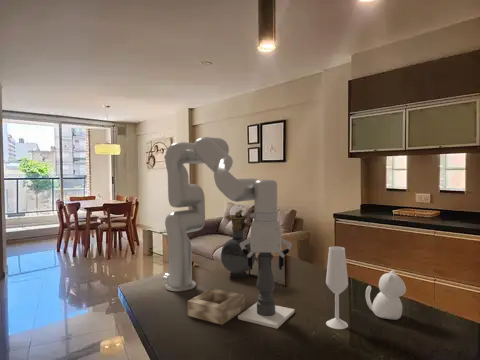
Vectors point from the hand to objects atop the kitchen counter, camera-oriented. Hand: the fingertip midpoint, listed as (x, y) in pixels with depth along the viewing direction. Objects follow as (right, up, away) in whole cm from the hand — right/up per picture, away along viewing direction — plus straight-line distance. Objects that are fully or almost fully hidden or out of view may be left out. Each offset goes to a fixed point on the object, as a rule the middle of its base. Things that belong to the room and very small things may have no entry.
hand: (265, 268), depth 116 cm
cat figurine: (+39, -16, -1) cm, 42 cm away
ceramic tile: (0, -16, 0) cm, 16 cm away
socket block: (-16, -16, +3) cm, 23 cm away
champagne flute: (+22, -16, -7) cm, 28 cm away
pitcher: (-8, -15, +44) cm, 47 cm away
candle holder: (0, -15, +1) cm, 15 cm away
